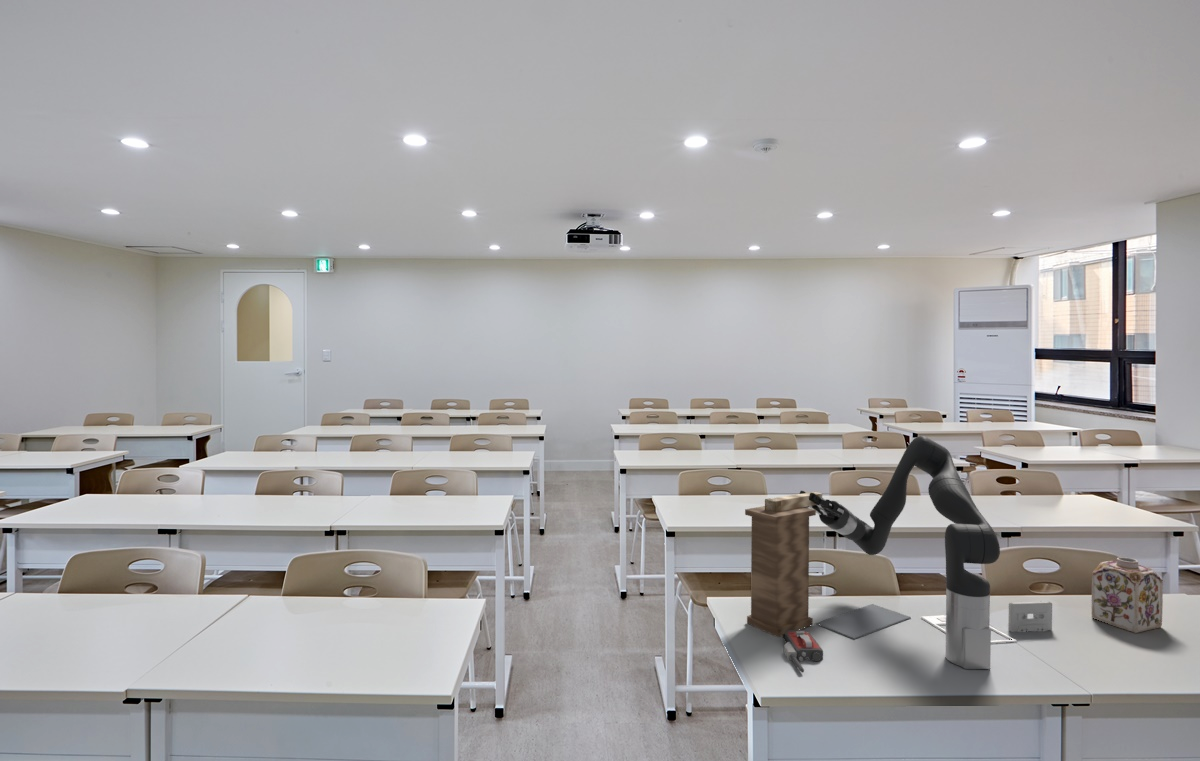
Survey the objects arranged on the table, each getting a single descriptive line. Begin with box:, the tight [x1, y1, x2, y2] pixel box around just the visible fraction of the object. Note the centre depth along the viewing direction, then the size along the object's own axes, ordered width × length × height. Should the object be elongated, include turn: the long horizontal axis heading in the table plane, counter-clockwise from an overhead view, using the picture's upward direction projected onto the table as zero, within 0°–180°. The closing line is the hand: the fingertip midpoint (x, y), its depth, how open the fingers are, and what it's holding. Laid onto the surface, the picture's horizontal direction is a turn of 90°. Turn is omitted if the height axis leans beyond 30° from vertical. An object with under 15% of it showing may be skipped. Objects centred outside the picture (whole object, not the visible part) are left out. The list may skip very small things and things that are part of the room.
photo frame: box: [920, 614, 1017, 645], centre depth 175 cm, size 15×1×18 cm
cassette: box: [1007, 601, 1053, 633], centre depth 175 cm, size 12×2×8 cm, turn 94°
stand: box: [744, 505, 817, 638], centre depth 179 cm, size 16×11×32 cm
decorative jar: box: [1091, 556, 1164, 634], centre depth 180 cm, size 12×12×18 cm
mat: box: [816, 603, 911, 640], centre depth 181 cm, size 26×12×1 cm, turn 123°
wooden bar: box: [764, 491, 823, 513], centre depth 181 cm, size 20×4×3 cm, turn 123°
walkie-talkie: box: [781, 629, 824, 673], centre depth 159 cm, size 9×4×20 cm
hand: (805, 494), depth 184 cm, fingers closed on wooden bar, 3 cm apart
